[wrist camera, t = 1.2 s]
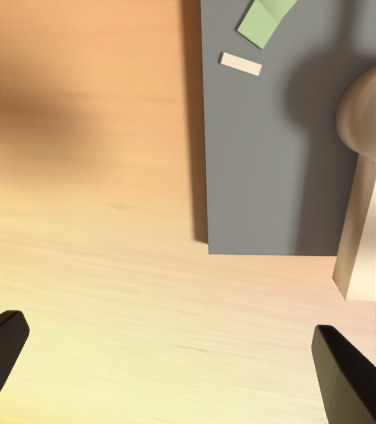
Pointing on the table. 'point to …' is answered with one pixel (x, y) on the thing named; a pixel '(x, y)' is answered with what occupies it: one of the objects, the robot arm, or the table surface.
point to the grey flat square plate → (280, 121)
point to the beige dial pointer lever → (359, 191)
